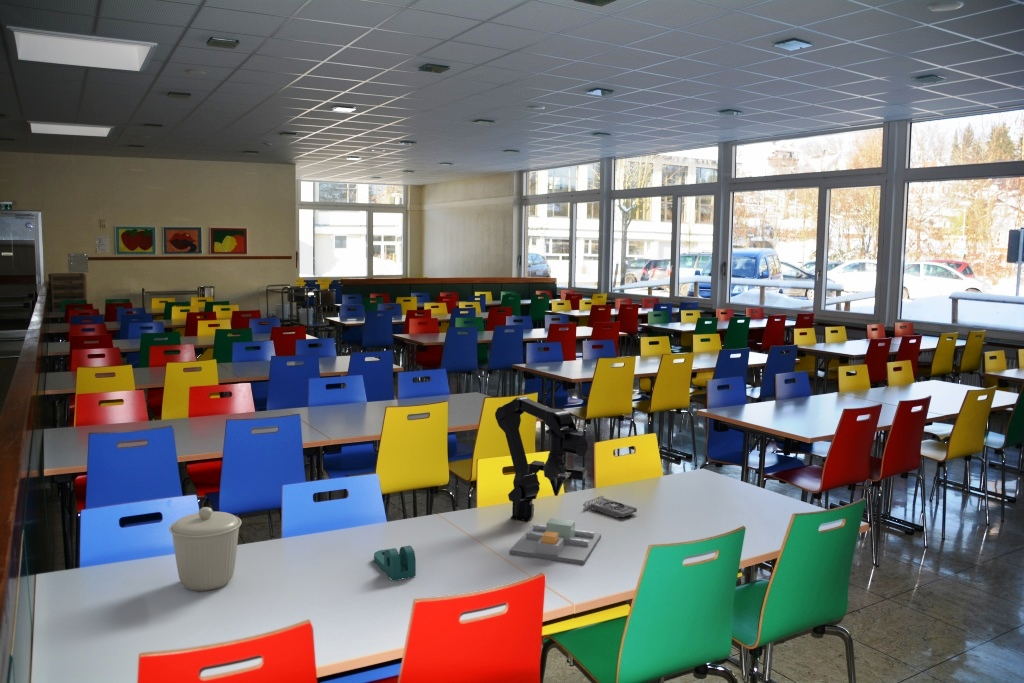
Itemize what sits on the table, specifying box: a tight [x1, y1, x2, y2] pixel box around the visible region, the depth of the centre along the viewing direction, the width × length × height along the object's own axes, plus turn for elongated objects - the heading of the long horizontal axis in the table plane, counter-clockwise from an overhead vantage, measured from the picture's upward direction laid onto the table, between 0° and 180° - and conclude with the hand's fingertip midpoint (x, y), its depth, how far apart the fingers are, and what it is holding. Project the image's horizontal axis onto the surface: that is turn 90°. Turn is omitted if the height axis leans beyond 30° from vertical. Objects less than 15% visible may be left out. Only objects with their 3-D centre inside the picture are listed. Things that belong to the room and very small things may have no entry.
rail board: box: [509, 523, 602, 565], centre depth 248 cm, size 23×24×4 cm
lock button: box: [542, 531, 559, 545], centre depth 241 cm, size 4×4×5 cm
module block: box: [545, 517, 576, 538], centre depth 252 cm, size 8×5×5 cm, turn 71°
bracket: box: [373, 545, 417, 581], centre depth 228 cm, size 18×7×8 cm, turn 29°
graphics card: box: [582, 495, 638, 518], centre depth 281 cm, size 17×4×12 cm
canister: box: [168, 506, 242, 592], centre depth 214 cm, size 18×18×21 cm
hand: (556, 495), depth 261 cm, fingers closed
